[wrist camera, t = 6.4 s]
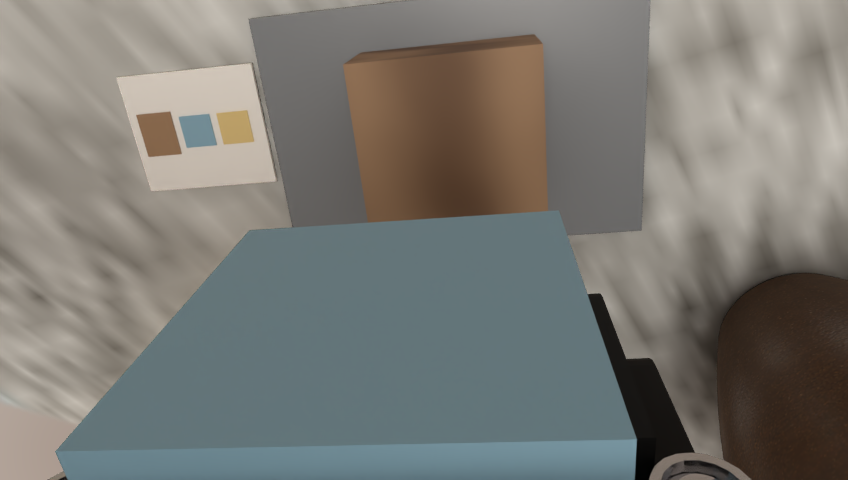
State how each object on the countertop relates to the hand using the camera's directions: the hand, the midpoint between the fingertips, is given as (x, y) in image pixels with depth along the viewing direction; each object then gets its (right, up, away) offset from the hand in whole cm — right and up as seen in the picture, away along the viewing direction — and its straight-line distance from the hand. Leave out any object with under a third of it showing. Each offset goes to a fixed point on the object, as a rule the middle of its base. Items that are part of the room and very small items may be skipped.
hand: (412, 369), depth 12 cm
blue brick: (0, 0, +1) cm, 1 cm away
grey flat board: (+2, +8, +18) cm, 19 cm away
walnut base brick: (+2, +8, +17) cm, 19 cm away
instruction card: (-11, +8, +19) cm, 23 cm away
